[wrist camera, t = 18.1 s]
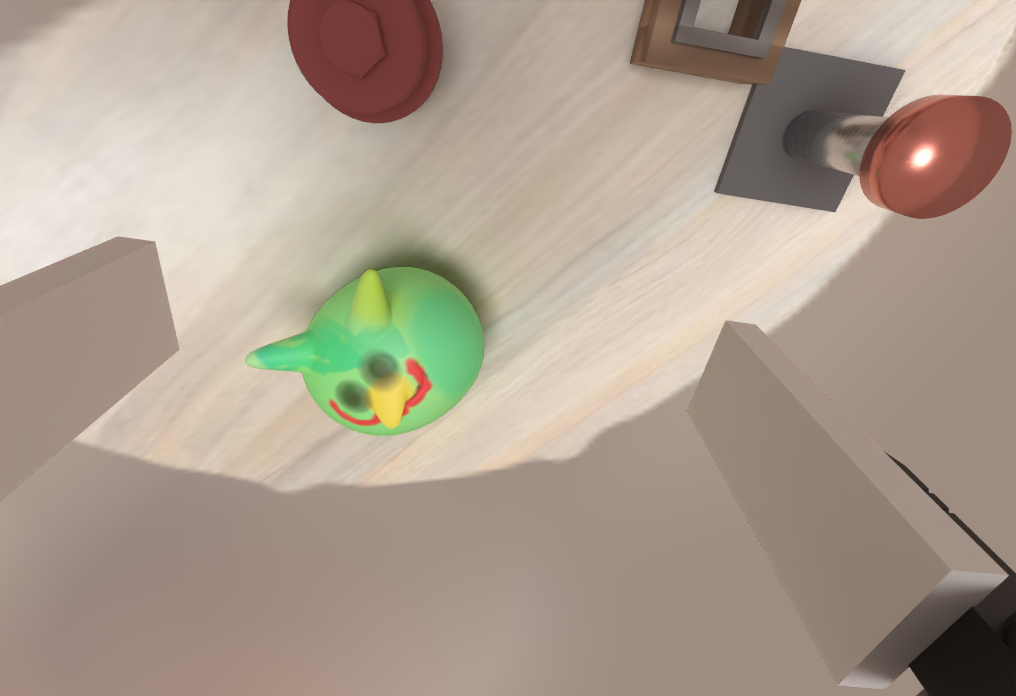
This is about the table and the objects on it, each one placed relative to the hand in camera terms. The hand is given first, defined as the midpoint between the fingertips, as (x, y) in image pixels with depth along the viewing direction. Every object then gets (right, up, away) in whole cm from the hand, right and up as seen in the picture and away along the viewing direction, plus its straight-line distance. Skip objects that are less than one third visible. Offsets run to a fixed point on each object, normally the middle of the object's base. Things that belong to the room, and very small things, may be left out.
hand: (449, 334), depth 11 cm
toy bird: (-10, +3, +41) cm, 42 cm away
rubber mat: (+28, +19, +32) cm, 46 cm away
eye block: (+17, +27, +27) cm, 42 cm away
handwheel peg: (+28, +19, +31) cm, 46 cm away
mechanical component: (-8, +25, +28) cm, 38 cm away
